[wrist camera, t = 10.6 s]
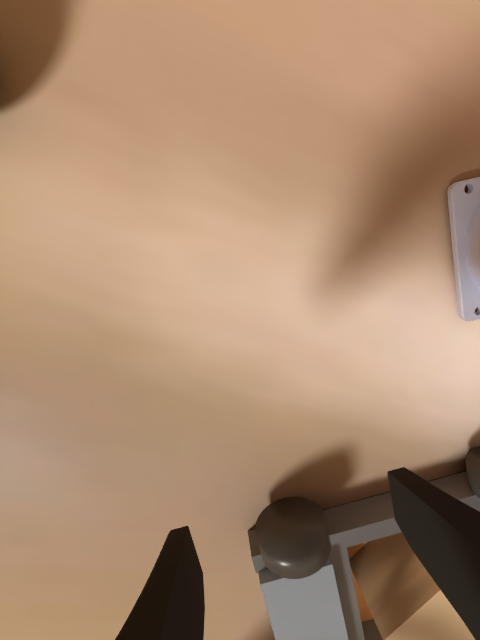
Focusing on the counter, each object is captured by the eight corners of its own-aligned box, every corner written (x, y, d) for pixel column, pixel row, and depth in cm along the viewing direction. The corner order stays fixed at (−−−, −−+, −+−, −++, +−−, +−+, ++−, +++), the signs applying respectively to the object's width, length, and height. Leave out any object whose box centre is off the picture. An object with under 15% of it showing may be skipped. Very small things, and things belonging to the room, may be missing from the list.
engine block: (395, 515, 24) (444, 586, 19) (445, 559, 25) (503, 635, 20) (347, 560, 24) (383, 640, 19) (398, 601, 25) (444, 686, 20)
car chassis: (518, 435, 24) (584, 474, 19) (528, 600, 27) (586, 664, 23) (242, 509, 23) (250, 567, 19) (285, 671, 26) (300, 751, 22)
